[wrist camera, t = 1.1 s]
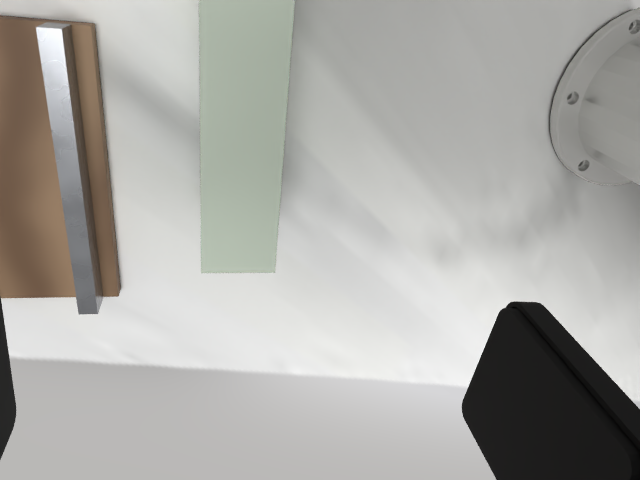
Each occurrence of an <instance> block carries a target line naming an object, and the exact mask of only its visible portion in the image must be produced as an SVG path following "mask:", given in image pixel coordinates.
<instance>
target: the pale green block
mask: <svg viewBox="0 0 640 480" xmlns="http://www.w3.org/2000/svg"><path fill="white" fill-rule="evenodd" d="M294 6H295V0H199V71H200V192H201V273H275V266H276V252H277V238H278V225H279V211H280V197H281V184H282V170H283V156H284V143H285V129H286V115H287V102H288V88H289V74H290V61H291V47H292V33H293V20H294Z"/></svg>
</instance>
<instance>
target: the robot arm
mask: <svg viewBox="0 0 640 480" xmlns="http://www.w3.org/2000/svg"><path fill="white" fill-rule="evenodd" d="M550 133H551V138H552V143H553V147H554V149H555V151H556V153H557V156H558V158H559V159H560V160H561V162H562V163H563V164H564V165H565V167H566V168H567V169H569V170H570V171H572V172H573V173H574V174H576V175H577V176H579V177H581V178H583V179H584V180H586V181H588V182H591V183H595V184H599V185H620V184H627V183H631V182H635V183H636V184H638V185H640V8H637V9H634V10H631V11H628V12H627V13H625V14H623V15H621V16H619V17H617V18H615V19H614V20H612V21H610V22H609V23H608V24H607V25H605V26H604V27H603V28H601V29H600V30H599V31H597V32H596V33H595V34H594V35H593V36H592V37H591V38H590V39H589V40H588V41H587V42H586V43H585V44H584V45H583V46H582V47H581V49H580V50H579V51H578V53H577V54H576V55H575V57H574V58H573V60H572V61H571V62H570V64H569V65H568V67H567V69H566V71H565V73H564V75H563V76H562V78H561V80H560V82H559V85H558V88H557V91H556V94H555V96H554V99H553V105H552V110H551V115H550ZM462 413H463V417H464V419H465V421H466V423H467V425H468V427H469V429H470V431H471V432H472V434H473V436H474V438H475V440H476V442H477V444H478V446H479V447H480V449H481V451H482V453H483V455H484V457H485V459H486V460H487V462H488V464H489V466H490V468H491V470H492V472H493V473H494V475H495V477H496V479H497V480H640V409H639V408H638V407H637V406H636V405H635V404H634V403H633V402H632V401H631V399H630V398H629V397H628V396H627V395H626V394H625V393H624V392H623V391H622V390H621V389H620V388H619V386H618V385H617V384H616V383H615V382H614V381H613V380H612V379H611V378H610V377H609V376H608V375H607V374H606V372H605V371H604V370H603V369H602V368H601V367H600V366H599V365H598V364H597V363H596V362H595V361H594V360H593V358H592V357H591V356H590V355H589V354H588V353H587V352H586V351H585V350H584V349H583V348H582V347H581V345H580V344H579V343H578V342H577V341H576V340H575V339H574V338H573V337H572V336H571V335H570V334H569V333H568V331H567V330H566V329H565V328H564V327H563V326H562V325H561V324H560V323H559V322H558V321H557V320H556V319H555V317H554V316H553V315H552V314H551V313H550V312H549V311H548V310H547V309H546V308H545V307H544V306H543V305H542V304H541V303H537V302H511V303H509V304H508V305H507V307H506V308H504V309H502V310H501V311H500V312H499V314H498V317H497V319H496V321H495V324H494V326H493V329H492V331H491V334H490V336H489V338H488V341H487V343H486V346H485V348H484V350H483V353H482V355H481V358H480V360H479V363H478V365H477V367H476V370H475V372H474V375H473V377H472V380H471V382H470V384H469V387H468V389H467V392H466V394H465V397H464V399H463V403H462ZM15 418H16V403H15V396H14V389H13V382H12V374H11V368H10V360H9V353H8V346H7V339H6V332H5V325H4V318H3V311H2V304H1V297H0V459H1V456H2V454H3V452H4V449H5V447H6V445H7V442H8V440H9V437H10V435H11V432H12V430H13V427H14V423H15Z"/></svg>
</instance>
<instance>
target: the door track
mask: <svg viewBox="0 0 640 480" xmlns="http://www.w3.org/2000/svg"><path fill="white" fill-rule="evenodd" d="M120 289H121V286H120V276H119V266H118V256H117V246H116V236H115V226H114V215H113V205H112V195H111V185H110V175H109V165H108V155H107V144H106V134H105V124H104V114H103V104H102V94H101V84H100V73H99V63H98V53H97V43H96V33H95V24H94V23H83V22H71V21H59V20H47V19H36V18H24V17H12V16H1V15H0V297H1V298H44V297H76V299H77V305H78V312H79V314H98V312H99V309H100V306H101V303H102V300H103V297H114V296H119V293H120Z"/></svg>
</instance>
